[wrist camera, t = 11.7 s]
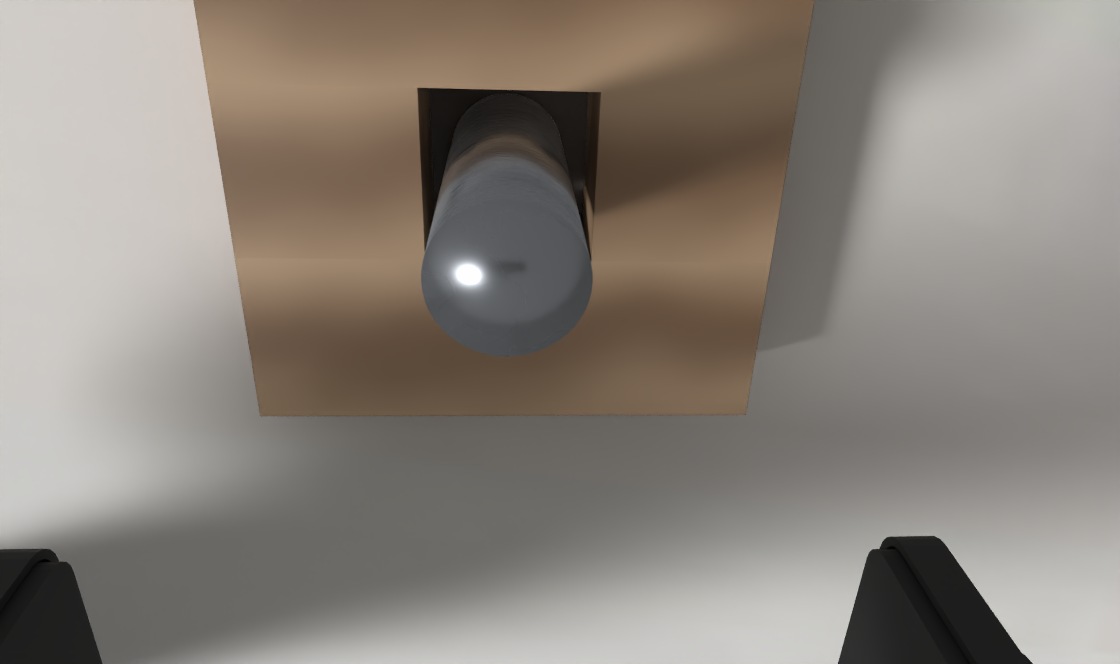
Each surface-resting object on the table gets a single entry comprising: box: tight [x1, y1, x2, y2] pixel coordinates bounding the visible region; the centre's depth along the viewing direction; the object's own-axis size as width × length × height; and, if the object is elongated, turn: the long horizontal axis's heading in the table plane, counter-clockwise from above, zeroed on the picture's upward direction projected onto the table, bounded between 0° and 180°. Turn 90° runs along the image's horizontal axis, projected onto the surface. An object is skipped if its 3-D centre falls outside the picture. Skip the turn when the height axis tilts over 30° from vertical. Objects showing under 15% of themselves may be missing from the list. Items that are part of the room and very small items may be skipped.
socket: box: [194, 0, 814, 416], centre depth 28 cm, size 18×18×4 cm
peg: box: [421, 93, 593, 357], centre depth 24 cm, size 4×4×12 cm
